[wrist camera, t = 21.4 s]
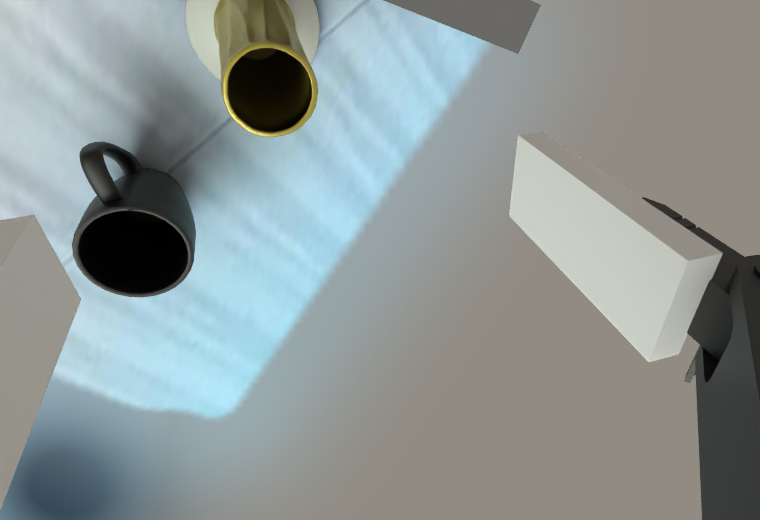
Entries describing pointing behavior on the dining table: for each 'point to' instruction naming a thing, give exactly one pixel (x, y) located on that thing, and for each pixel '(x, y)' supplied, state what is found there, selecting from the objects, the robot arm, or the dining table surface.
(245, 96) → the vase
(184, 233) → the mug
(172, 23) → the dining table surface
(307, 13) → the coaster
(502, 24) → the bar
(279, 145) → the dining table surface
